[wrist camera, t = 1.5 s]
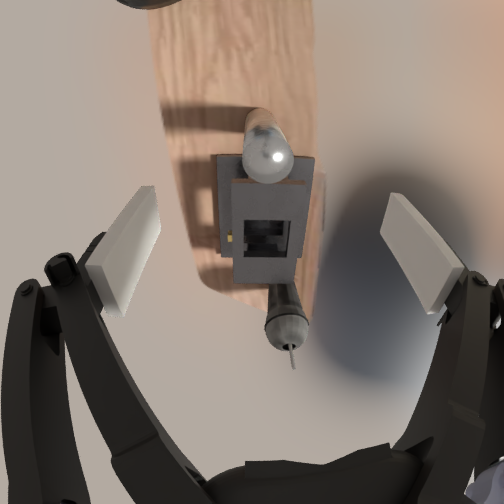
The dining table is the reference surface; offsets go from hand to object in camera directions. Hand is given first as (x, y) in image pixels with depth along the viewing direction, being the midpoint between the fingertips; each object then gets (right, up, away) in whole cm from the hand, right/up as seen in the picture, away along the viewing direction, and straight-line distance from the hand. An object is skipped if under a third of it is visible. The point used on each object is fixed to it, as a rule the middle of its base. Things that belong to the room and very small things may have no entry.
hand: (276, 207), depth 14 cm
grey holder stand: (+1, +4, +29) cm, 29 cm away
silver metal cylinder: (0, +16, +20) cm, 26 cm away
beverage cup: (+4, -7, +38) cm, 39 cm away
